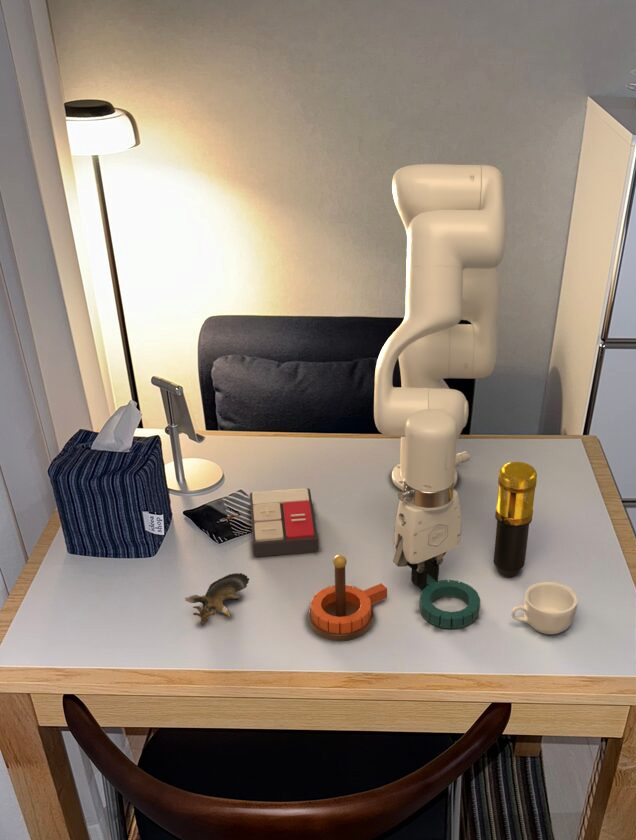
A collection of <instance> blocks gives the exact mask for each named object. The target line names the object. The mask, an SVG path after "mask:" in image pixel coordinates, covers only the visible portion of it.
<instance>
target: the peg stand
mask: <svg viewBox="0 0 636 840" xmlns="http://www.w3.org/2000/svg"><path fill="white" fill-rule="evenodd" d="M332 564H333V566H334V585H335V602H332V603H330V604H328V605H326V606H325V607H324V608H323V610H324V611H325V612H326V613H327V614H329V615H332V616H337V617H344V616H349V615H352V614H354V613H356V612H357V611H358V610H359V609H360V608H359V607H358V606H357V605H356V604H353V603H351V602H348V601H346V585H347V584H346V565H347V558H346V557H345V556H344V555H342V554H338V555H336V556H334V557H333V560H332ZM373 623H374V610H373V607H372V606H371V617H370V620H369V621H368V623H367V624H366V625H365V626H364V627H362V628H361V629H359V630H357V631H354V632H352V631H351V633H344V634H341V632H340V633H339V634H337V633H330V632H329V631H328V632H327V631H325V630H322V629H320V628H319V627H318V626H317V625H316V624H315V623H314V622H313V620H312V616H311V607H310V608H309V611H308V624H309V627H310V628H311V630H312V632H314V633H315V634H316V635H318V636H319V637H321V638H323V639H325V640H329V641H335V642H346V641H351V640H355V639H357V638H360V637H362V636H364V635H365V634H366V633H368V631H369V630H370V629H371V628H372V626H373Z"/></svg>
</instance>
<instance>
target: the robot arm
mask: <svg viewBox="0 0 636 840" xmlns="http://www.w3.org/2000/svg"><path fill="white" fill-rule="evenodd" d="M391 180H392V181H391V190H392V196H393V197H392V198H393V201H394V205H395V207H396V210H397V212H398V215H399V217H400V219H401V221H402V224H403V226H404V229H405V233H406V277H405V282H406V283H405V286H406V287H405V314H404V318H403V320H402V322H401V323H400V325H399V326H398V327H397V328H396V329H395V331H393V332H392V334H391V335H390V336H389V337H388V339H387V340H386V341H385V343H384V345H383V346H382V348H381V350H380V352H379V355H378V358H377V360H376V365H375V371H374V391H373V392H374V393H373V419H374V425H375V427H376V428H377V430H378V432H379V433H381V434H382V435H384V436H387V437H397V438H398V437H399V438H400V451H399V452H400V457H399V459H400V461H399V463H398V464H396V465H395V466H394V467H393V469H392V471H391V480H392V483H393V484H394V486H395V487H397V488H398V489H399V490H401V491H399V492H397V497H398V499H399V503H398V508H397V511H396V517H395V525H394V537H393V538H394V549H395V553H394V556H393V559H392V563H393V564H395V565H396V567H398V568H403V567H409V568H411V571H410V572H411V573H410V581H411V583H412V584H413V585H414V587H415V586H416V587H417V588H418V589H419V590H420V591H421V592H422V590H423V589H424V588H425V587H426V583H427V573H428V574H429V575H430V576H431V577H432V578H433V579H435V580H436V581H437V582H438V581H439V575H440V565H442V564H443V562H444V557H445V555H446V554H447V553H448V552H449V551H451V550H453V549H455V548H457V547H458V546H459V545H460V543H461V539H462V512H461V504H460V499H459V495H458V492H457V490H455V487H456V485H457V483H458V472H457V469H456V467H458V465H459V464H461V463H465V462H467V461H470V459H471V454H470V452H469V451H468V450H465V451H461V452H458V453H457V443H458V440H459V438H460V436H461V433H462V431H463V429H464V428H466V426H467V423H468V419H469V411H470V410H469V401H468V400H467V398H466V396H465V395H464V393H463V392H462V391H460V390H457V389H453V388H450V387H449V385H448V383H446V381H445V379H468V380H469V379H471V380H472V379H476V380H477V379H485V378H488V377H489V376H491V375H492V373H494V370H495V368H496V364H497V355H498V345H499V344H498V343H499V329H500V313H501V294H502V293H501V291H502V290H501V280H500V276H499V273H498V271H497V270H496V268H497V267H498V266H500V264H501V263H502V261H503V258H504V255H505V251H506V246H507V244H506V243H507V209H506V186H505V180H504V176H503V174H502V172H501V170H500V169H499V168H497V167H496V166H493V165H489V164H453V163H452V164H451V163H450V164H449V163H421V164H420V163H418V164H410V165H405V166H403V167H400V168H398V169H397V170H396V171H395V172H394V174H393V176H392V179H391ZM461 321H469V322H470V323H472V324H469V323H467V324H466V323H460V322H461ZM397 361H398V364H399V372H400V382H401V385H400V386H401V387H400V386H399V387H397V386H394V385H393V376H394V370H395V365H396V363H397Z"/></svg>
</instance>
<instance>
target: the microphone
mask: <svg viewBox="0 0 636 840" xmlns="http://www.w3.org/2000/svg"><path fill="white" fill-rule="evenodd" d="M537 478H538V473H537V470H536V469H535V468H534V466H532V465H531V464H528V463H526V462H521V461H511V462H508V463H505V464H503V465H502V466H501V467H500V469H499V474H498V481H497V483H498V488H497V489H498V490H497V499H496V506H495V514H494V518H495V520H496V529H495V539H494V550H493V551H494V552H493V564H494V567H496V570H497V571H498V573H499V574H500V576H503V577H505V578H513V577H515V576H516V575H518V573H519V572H520V571H522V569H523V568H524V567H525V565H526V558H527V557H526V556H527V547H528V539H529V538H528V537H529V529H530V524H531V523H532V521H533V517H534V503H535V492H536V487H537Z"/></svg>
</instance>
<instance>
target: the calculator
mask: <svg viewBox="0 0 636 840" xmlns="http://www.w3.org/2000/svg"><path fill="white" fill-rule="evenodd" d="M249 503H250V504H249V506H250V518H251V519H250V521H251V536H252V551H253V557H255V558H259V557H260V558H261V557H272V556H284V555H294V554H296V555H297V554H306V553H307V554H308V553H316V552H318V551H319V544H318V543H319V541H318V539H319V538H318V532H317V531H318V530H317V525H316V519H315V512H314V507H313V506H314V505H313V501H312V494H311V488H305V487H302V488H291V489H280V490H279V489H277V490H264V491H253V492H249Z"/></svg>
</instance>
